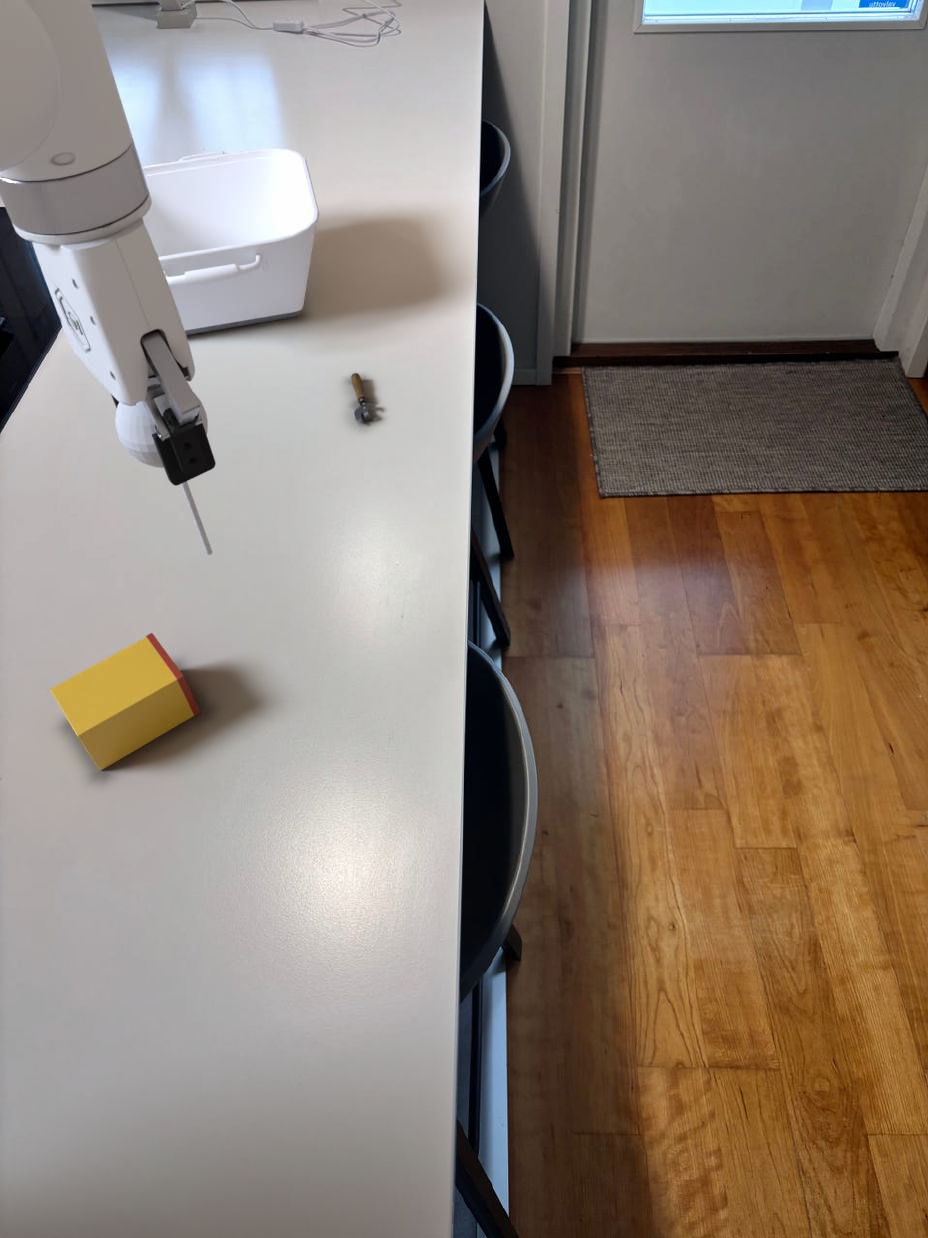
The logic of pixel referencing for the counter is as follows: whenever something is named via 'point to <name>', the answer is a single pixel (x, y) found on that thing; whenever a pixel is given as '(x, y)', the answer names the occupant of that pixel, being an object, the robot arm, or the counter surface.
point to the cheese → (126, 701)
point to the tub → (233, 235)
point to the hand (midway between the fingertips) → (170, 448)
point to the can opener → (360, 399)
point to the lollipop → (140, 443)
